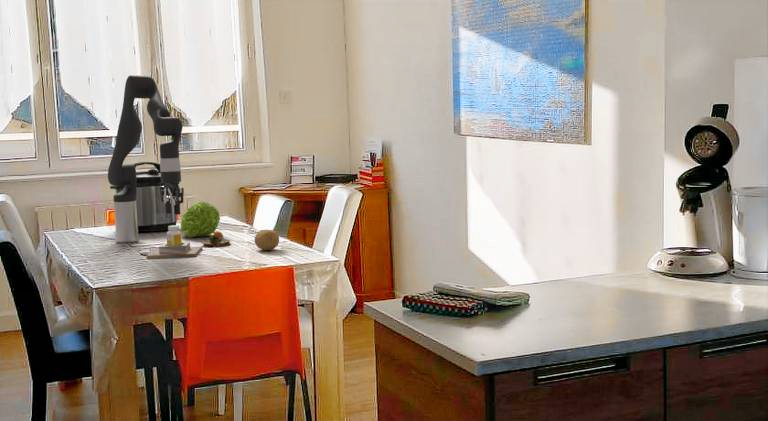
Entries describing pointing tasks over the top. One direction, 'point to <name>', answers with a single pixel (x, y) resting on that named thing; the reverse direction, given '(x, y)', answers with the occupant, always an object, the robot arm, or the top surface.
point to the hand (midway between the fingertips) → (172, 213)
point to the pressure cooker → (150, 200)
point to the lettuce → (200, 220)
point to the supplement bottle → (173, 236)
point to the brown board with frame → (174, 251)
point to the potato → (267, 239)
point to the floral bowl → (216, 240)
